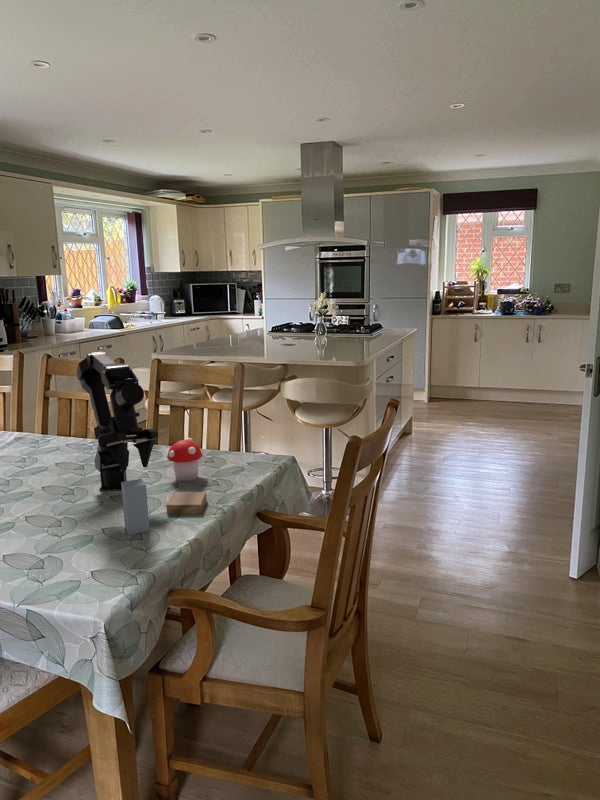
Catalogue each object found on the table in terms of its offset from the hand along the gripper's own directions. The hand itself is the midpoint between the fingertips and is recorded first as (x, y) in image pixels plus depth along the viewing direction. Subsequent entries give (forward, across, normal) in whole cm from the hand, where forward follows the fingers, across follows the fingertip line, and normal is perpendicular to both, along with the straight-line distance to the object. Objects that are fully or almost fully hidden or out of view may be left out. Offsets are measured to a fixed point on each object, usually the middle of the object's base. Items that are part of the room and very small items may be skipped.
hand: (135, 468), depth 157 cm
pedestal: (+13, -9, +8) cm, 18 cm away
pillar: (+15, +7, +2) cm, 17 cm away
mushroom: (+5, -29, -3) cm, 30 cm away
